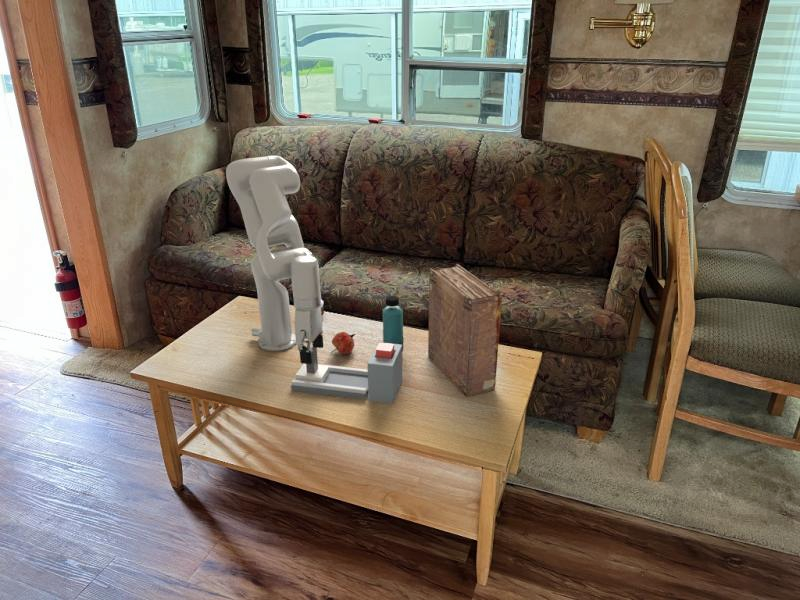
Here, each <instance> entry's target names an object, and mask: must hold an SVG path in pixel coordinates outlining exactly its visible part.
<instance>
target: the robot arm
mask: <svg viewBox="0 0 800 600" xmlns="http://www.w3.org/2000/svg"><path fill="white" fill-rule="evenodd" d="M299 175H300V174H299V173H298V171H297V169H296V168H295V167H294V166H293V164H291V163H290V162H289V161H287V160H286V159H284V158H283V157H281V156H279V155H266V156H265V155H264V156H259V157H249V158H242V159H237V160H234V161H231V162H230V163H229V164H227V167H226V169H225V176H226V182H227V185H228V187H229V190H230V191H231V193H232V195H233V197H234V199H235V200H236V202H237V204H238V206H239V209H240V213H241V215H242V220H243V222H244V227H245V231H246V234H247V237H248V241H249V243H250V244H251V246H252V247H253V248H256V253H257V254H256V255H254V256H253V257H252V259H251V263H250V266H251V267H250V268H251V272H252V275H253V279H254V282H255V287H256V292H257V301H258V308H259V309H258V311H259V317H260V318H259V319H260V327H254V326H253V327H251V329H250V330H251V336H252V337H258V340H257V343H258V347H259V348H260V349H261V350H264V351H268V352H280V351H285V350H288V349H291V348H293V347H294V346H295V345H297V349H298V352H299V359H300V363H301V364H302V365H303V364H311V363H312V357H311V351H310V347H311V345H312V347H317V349H318V348H319V349H323V348H324V336H323V315H322V314H321V308H320V306H321V299H322V294H321V282H320V281H321V280H320V279H321V278H320V269H319V261H318V259H317V258H316V257H315V256H314V255H313V253H312V252H311V251H310V250H309V248H306V247H305V245H304V241H303V238H302V234H301V229H300V227H299V223H298V220H297V219H296V218H295V216H294V215H293V214H292V210H291V208H290V206H289V203H288V200H287V197H286V195H290V194H291V195H292V194H295V193H298V192H299V190H300V188H301V179H300V176H299ZM280 245H285V247H282V248H277V249H272V250H271V249H270V247H274V246H280ZM285 279H291V289H292V297H293V306H294V307H293V308H294V309H295V311H294V331H295V332H293V331H292V321H291V320H292V319H291V309H290V298H289V291H288V290H287V288H286V287H285V286H284V285H283V284H282V283H281V282H280V281H284V280H285ZM304 344H306V345H304Z"/></svg>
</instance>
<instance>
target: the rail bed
mask: <svg viewBox="0 0 800 600" xmlns="http://www.w3.org/2000/svg"><path fill="white" fill-rule="evenodd" d="M318 365H321V366H329V374H328V375H327V377H326V379H325V380H324V382H323V383H320V382H311V381H303V380H296V378H295V379H292V380H291V386H290V390H291V391H292V392H298V393H299V392H300V393H309V394H316V395H323V394H324V395H325V396H330V397H331V396H332V397H341V398H349V399H355V400H363V401H366V400H367V397H368V396H369V394H368V369H363V368H358V367H347V366H339V365H331V364H320V363H318Z"/></svg>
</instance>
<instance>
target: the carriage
mask: <svg viewBox="0 0 800 600" xmlns="http://www.w3.org/2000/svg"><path fill="white" fill-rule="evenodd" d="M310 351H311V357H312V363H311V364H302V365H301V367H300V368H299V370H297V372H296V373H295V380H303V381H311V382H320V383H323V382H324V380H325V379H326V377H327V375H328V374H329V366H321V365H318V364H319V363H318V348H317V347H313V346H310Z"/></svg>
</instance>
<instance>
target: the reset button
mask: <svg viewBox="0 0 800 600" xmlns="http://www.w3.org/2000/svg"><path fill="white" fill-rule="evenodd" d="M393 356H394V344H390V343H383V342H381V343H379V345H378V347H377V349H376V357H377V358H386V359H392V358H393Z"/></svg>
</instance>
